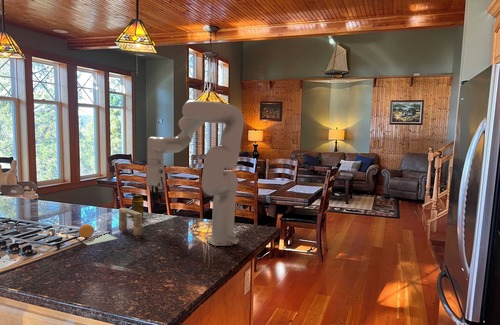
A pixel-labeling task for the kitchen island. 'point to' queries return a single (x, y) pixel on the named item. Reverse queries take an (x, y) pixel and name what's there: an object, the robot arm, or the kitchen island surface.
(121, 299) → the kitchen island surface
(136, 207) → the condiment
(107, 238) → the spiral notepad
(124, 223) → the bridge
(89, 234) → the ball
